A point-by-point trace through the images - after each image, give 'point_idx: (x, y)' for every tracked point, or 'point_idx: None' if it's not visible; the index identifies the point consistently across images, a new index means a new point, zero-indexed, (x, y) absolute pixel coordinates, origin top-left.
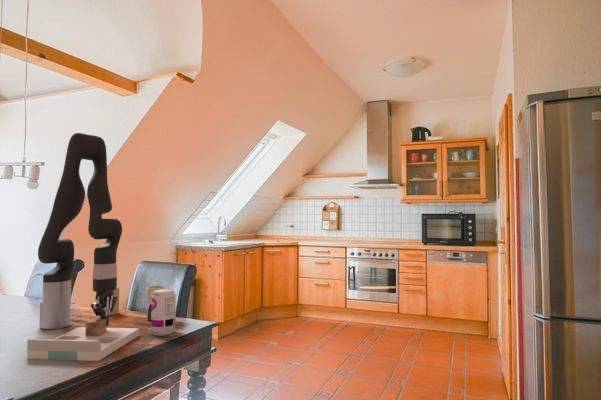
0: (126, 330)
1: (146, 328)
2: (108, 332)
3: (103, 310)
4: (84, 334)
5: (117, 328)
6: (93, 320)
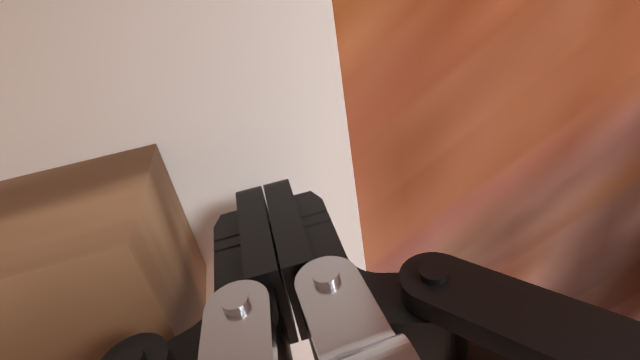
0: (311, 352)
1: (527, 264)
2: (210, 284)
3: (333, 345)
4: (23, 115)
5: (348, 257)
6: (36, 328)
